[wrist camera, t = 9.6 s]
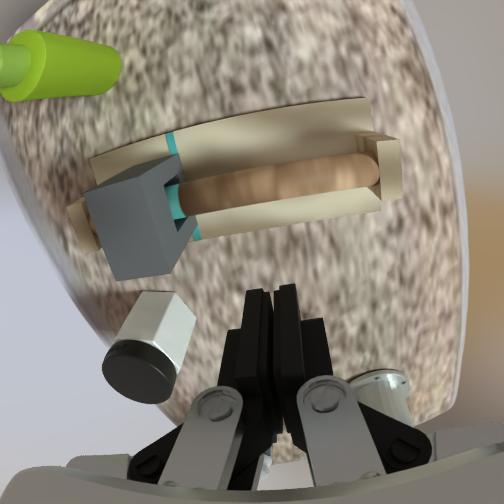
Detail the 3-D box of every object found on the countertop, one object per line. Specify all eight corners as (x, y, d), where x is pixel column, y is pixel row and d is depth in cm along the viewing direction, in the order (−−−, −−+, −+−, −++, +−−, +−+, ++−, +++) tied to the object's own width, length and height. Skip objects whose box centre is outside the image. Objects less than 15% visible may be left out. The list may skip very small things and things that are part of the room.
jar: (146, 276, 38) (107, 340, 27) (204, 305, 39) (183, 376, 28) (129, 323, 42) (96, 385, 31) (180, 348, 43) (159, 414, 32)
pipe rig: (378, 208, 32) (403, 235, 26) (124, 251, 36) (96, 283, 30) (366, 97, 27) (393, 96, 20) (93, 157, 31) (55, 173, 25)
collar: (198, 224, 32) (170, 273, 23) (154, 232, 33) (116, 281, 24) (178, 152, 29) (139, 176, 20) (134, 165, 30) (82, 193, 21)
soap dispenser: (89, 34, 25) (-50, 13, 7) (131, 58, 26) (-11, 37, 8) (63, 78, 27) (-78, 91, 9) (102, 104, 29) (-44, 130, 11)
